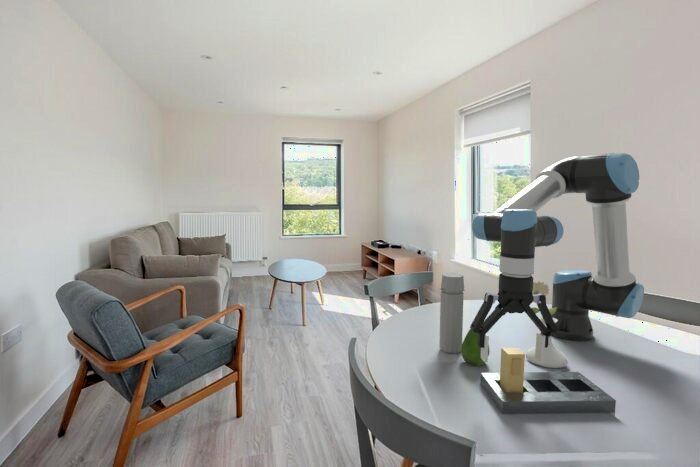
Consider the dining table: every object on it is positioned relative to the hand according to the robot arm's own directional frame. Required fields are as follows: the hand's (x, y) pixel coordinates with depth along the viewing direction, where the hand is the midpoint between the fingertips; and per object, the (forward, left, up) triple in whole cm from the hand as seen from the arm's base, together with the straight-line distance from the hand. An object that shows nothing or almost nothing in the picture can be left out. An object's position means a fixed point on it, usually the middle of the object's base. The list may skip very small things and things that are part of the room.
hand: (511, 360), depth 93 cm
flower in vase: (-19, -21, -11) cm, 31 cm away
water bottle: (+6, -32, -11) cm, 34 cm away
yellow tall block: (0, 0, -10) cm, 10 cm away
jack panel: (-8, 0, -11) cm, 13 cm away
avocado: (+2, -20, -11) cm, 23 cm away
